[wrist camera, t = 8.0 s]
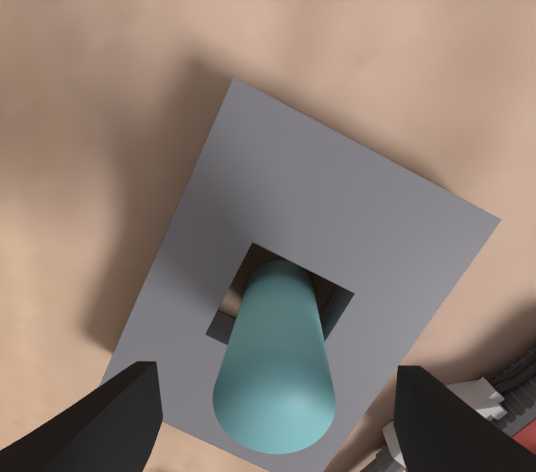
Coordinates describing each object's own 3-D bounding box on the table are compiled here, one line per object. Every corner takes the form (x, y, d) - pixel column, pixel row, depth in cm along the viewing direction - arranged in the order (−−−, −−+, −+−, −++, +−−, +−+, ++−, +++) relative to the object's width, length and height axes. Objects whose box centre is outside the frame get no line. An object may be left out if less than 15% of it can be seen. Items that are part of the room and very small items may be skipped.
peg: (244, 260, 17) (207, 349, 9) (313, 258, 16) (336, 348, 9) (248, 322, 17) (217, 453, 10) (314, 321, 17) (335, 455, 9)
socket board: (242, 90, 15) (233, 77, 12) (467, 210, 15) (501, 219, 13) (121, 360, 18) (96, 391, 16) (307, 448, 19) (310, 490, 17)
